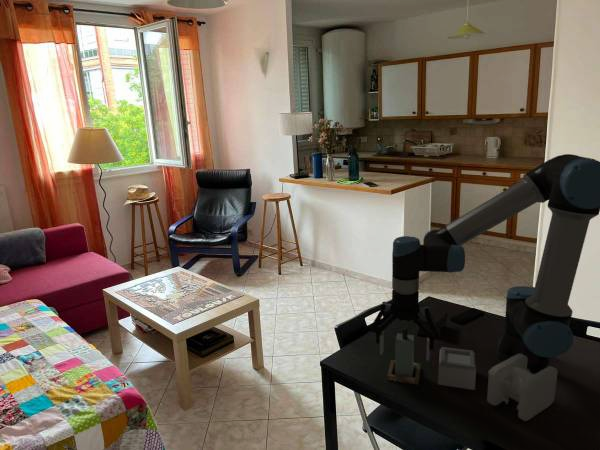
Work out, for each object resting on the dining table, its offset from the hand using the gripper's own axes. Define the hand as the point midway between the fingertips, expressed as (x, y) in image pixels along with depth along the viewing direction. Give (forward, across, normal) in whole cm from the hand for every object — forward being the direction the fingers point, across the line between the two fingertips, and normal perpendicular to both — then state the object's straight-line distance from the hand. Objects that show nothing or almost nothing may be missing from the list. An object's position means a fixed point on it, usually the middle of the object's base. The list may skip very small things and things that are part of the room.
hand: (404, 355), depth 134 cm
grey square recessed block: (+6, -15, -2) cm, 16 cm away
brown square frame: (+6, 0, 0) cm, 6 cm away
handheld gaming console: (+7, -7, -30) cm, 32 cm away
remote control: (+7, -19, -44) cm, 49 cm away
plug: (+6, 0, 0) cm, 6 cm away
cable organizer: (+7, -31, +7) cm, 32 cm away
